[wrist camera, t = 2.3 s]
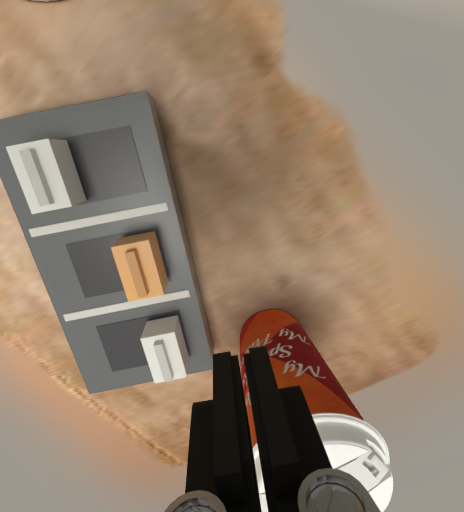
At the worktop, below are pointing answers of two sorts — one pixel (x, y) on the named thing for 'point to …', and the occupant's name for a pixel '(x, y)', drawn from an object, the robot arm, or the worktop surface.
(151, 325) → the switch
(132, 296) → the switch
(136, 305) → the switch panel
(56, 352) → the worktop surface
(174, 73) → the worktop surface
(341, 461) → the coffee cup
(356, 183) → the worktop surface
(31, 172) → the switch
